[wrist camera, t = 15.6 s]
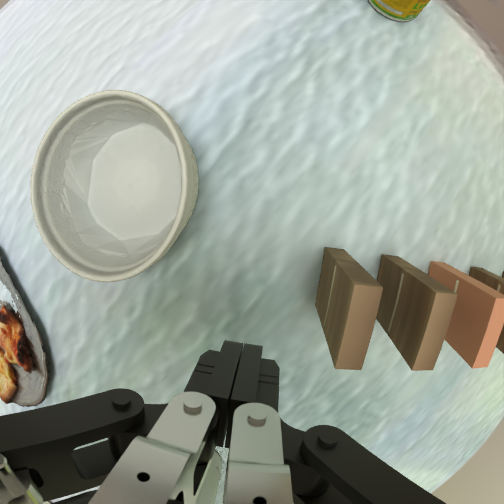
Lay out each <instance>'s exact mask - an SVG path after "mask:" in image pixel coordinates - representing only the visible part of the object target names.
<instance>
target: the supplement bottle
mask: <svg viewBox="0 0 504 504" xmlns="http://www.w3.org/2000/svg"><path fill="white" fill-rule="evenodd" d="M429 1H430V0H369V2H370V3H371V5H372V6H373V7H374V8H375V9H376V10H377V11H378V12H379V13H381V14H382V15H384V16H386V17H388V18H390V19H393V20H396V21H402V22H405V21H410V20H413V19H414V18H415V17H416V16H417V15H418V14H419V13H420V12H421V11H422V10H423V8H424V7H425V6H426V5H427V4H428V3H429Z"/></svg>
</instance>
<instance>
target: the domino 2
mask: <svg viewBox="0 0 504 504" xmlns="http://www.w3.org/2000/svg"><path fill="white" fill-rule="evenodd" d="M377 282H378V283H379V284H380V285H381V286H382V287H383V290H382V295H381V299H380V303H379V308H378V312H377V316H376V319H377V320H378V322H379V323H380V325H381V326H382V327H383V329H384V330H385V332H386V333H387V334H388V336H389V337H390V339H391V340H392V342H393V343H394V345H395V346H396V348H397V349H398V350H399V352H400V353H401V355H402V356H403V358H404V359H405V361H406V362H407V364H408V365H409V367H410V368H411V370H433V368H434V366H435V363H436V361H437V358H438V355H439V353H440V350H441V347H442V344H443V341H444V338H445V335H446V332H447V329H448V326H449V323H450V320H451V316H452V313H453V310H454V306H455V303H456V299H457V295H458V294H456V293H455V292H453V291H452V290H450V289H449V288H447V287H446V286H444V285H443V284H441V283H440V282H438V281H436V280H435V279H433V278H432V277H430V276H429V275H427V274H426V273H424V272H422V271H421V270H419V269H418V268H416V267H414V266H413V265H411V264H410V263H408V262H406V261H405V260H403V259H402V258H400V257H398V256H391V255H383V254H382V255H381V261H380V266H379V271H378V276H377Z"/></svg>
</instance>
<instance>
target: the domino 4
mask: <svg viewBox="0 0 504 504" xmlns="http://www.w3.org/2000/svg"><path fill="white" fill-rule="evenodd" d="M469 276H471V277H472V278H474V279H476V280H478V281H480V282H482V283H484V284H485V285H487V286H489V287H491V288H493V289H494V290H496V291H498V292H500V293H501V294H503V295H504V278H502V277H500V276H497V275H495V274H493V273H491V272H489V271H487V270H485V269H483V268H477V267H471V268H470V273H469ZM496 347H497V348H498V349H499V350H500V351H501V352H502V353H504V324H503V327H502V330H501V333H500V336H499V339H498V342H497V344H496Z"/></svg>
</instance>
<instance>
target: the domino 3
mask: <svg viewBox="0 0 504 504" xmlns="http://www.w3.org/2000/svg"><path fill="white" fill-rule="evenodd" d="M428 275H429V276H430V277H432V278H433V279H435V280H436V281H438V282H440V283H441V284H443V285H444V286H446V287H447V288H449V289H450V290H452V291H453V292H455V293H456V294H458V295H457V299H456V303H455V306H454V310H453V313H452V316H451V320H450V323H449V326H448V329H447V332H446V335H445V338H444V339H445V340H446V341H447V342H448V344H449V345H450V346H451V347H452V348H453V349H454V350H455V351H456V352H457V353H458V354H459V355H460V356H461V357H462V358H463V359H464V360H465V361H466V362H467V363H468V364H469V366H470V367H471V368H481V367H488V365H489V362H490V360H491V357H492V355H493V352H494V350H495V347H496V344H497V342H498V339H499V336H500V333H501V330H502V327H503V324H504V295H503V294H501V293H500V292H498V291H496V290H494V289H493V288H491V287H489V286H487V285H485V284H484V283H482V282H480V281H478V280H476V279H474V278H472V277H471V276H469V275H467V274H465V273H463V272H461V271H459V270H457V269H455V268H454V267H452V266H450V265H448V264H446V263H441V262H433V261H431V263H430V268H429V272H428Z"/></svg>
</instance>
